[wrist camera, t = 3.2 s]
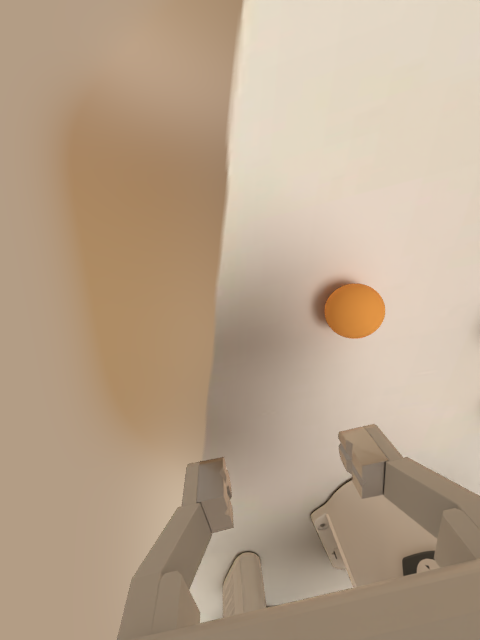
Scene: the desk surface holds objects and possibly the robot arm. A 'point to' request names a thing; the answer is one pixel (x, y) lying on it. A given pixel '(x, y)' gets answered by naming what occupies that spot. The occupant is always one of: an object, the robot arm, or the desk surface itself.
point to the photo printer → (244, 586)
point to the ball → (354, 311)
